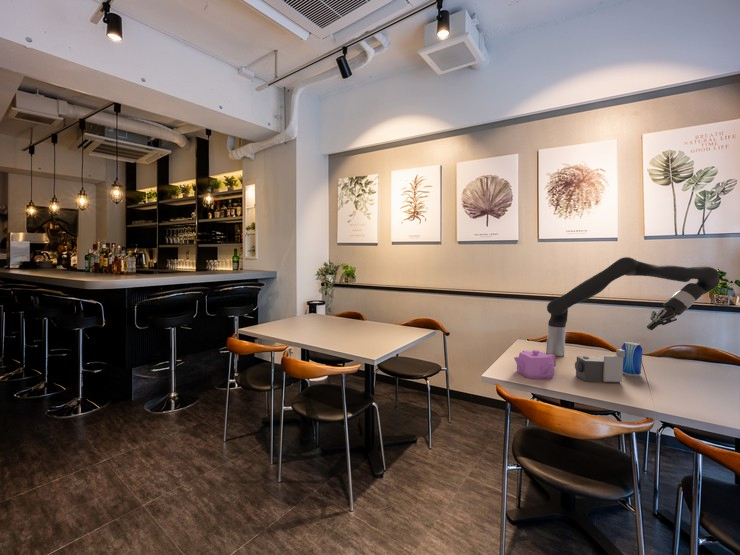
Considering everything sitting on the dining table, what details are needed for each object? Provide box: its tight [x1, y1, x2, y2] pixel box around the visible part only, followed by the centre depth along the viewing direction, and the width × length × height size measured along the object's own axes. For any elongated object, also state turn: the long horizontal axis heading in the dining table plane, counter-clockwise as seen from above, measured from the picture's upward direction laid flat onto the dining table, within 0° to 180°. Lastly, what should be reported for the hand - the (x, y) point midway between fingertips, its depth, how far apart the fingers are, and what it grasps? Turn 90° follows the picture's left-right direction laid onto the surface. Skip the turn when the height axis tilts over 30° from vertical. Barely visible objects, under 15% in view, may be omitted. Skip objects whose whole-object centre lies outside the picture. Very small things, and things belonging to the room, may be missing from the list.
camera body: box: [574, 355, 621, 384], centre depth 169 cm, size 18×8×11 cm, turn 86°
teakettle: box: [513, 349, 556, 380], centre depth 175 cm, size 17×17×12 cm
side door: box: [603, 348, 625, 383], centre depth 164 cm, size 8×3×15 cm, turn 86°
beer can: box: [621, 341, 643, 378], centre depth 177 cm, size 8×8×16 cm
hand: (649, 328), depth 162 cm, fingers closed
